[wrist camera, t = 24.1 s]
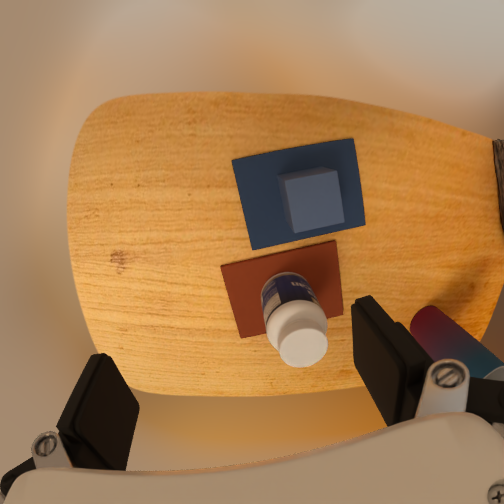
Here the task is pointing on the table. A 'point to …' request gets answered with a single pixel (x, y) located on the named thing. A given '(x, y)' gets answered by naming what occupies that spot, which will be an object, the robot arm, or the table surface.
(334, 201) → the blue block
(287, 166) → the blue mat
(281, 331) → the pill bottle
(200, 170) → the table surface
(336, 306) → the rust mat
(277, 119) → the table surface
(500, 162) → the rock
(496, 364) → the cup
